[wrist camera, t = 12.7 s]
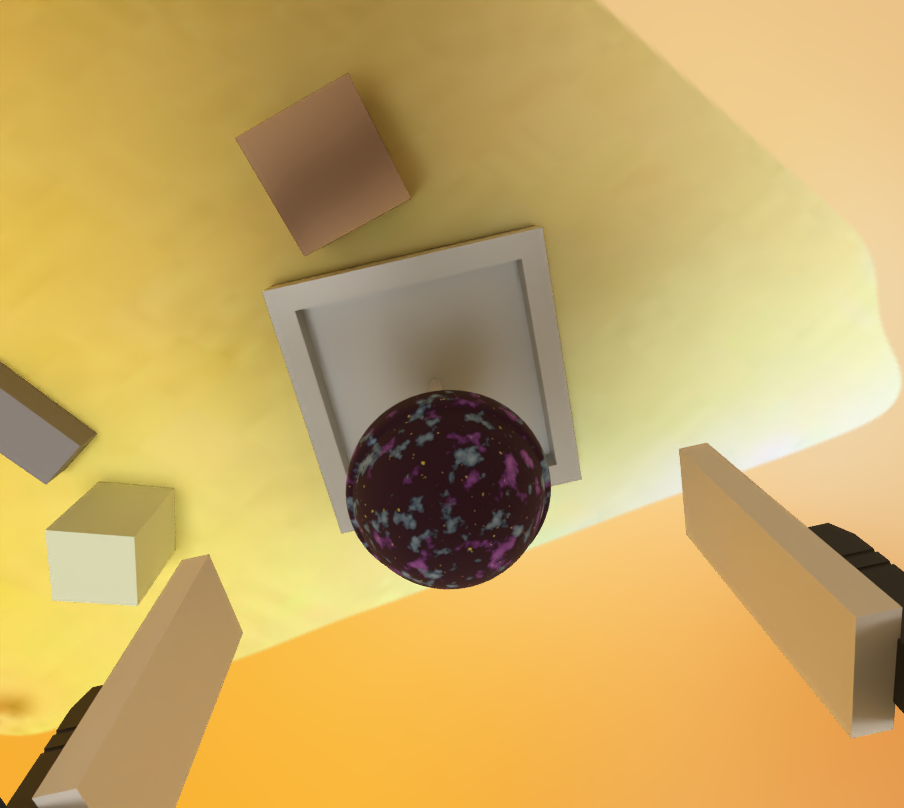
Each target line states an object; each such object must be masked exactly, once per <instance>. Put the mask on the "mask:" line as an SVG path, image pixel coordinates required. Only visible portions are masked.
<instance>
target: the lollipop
mask: <svg viewBox="0 0 904 808" xmlns="http://www.w3.org/2000/svg"><path fill="white" fill-rule="evenodd" d="M550 496H551V480H550V472H549V467H548V463H547V460H546V457H545V454H544V452H543V449H542V447H541V445H540V443H539V441H538V440H537V438H536V436H535V435H534V433H533V432H532V430H531V429H530V428H529V427H528V425H527V424H526V423H525V422H524V421H523V420H522V419H521V418H520V417H519V416H518V415H517V414H516V413H515V412H513V411H512V410H511V409H510V408H508V407H506V406H505V405H503V404H501V403H500V402H498V401H496V400H494V399H492V398H489V397H487V396H484V395H481V394H477V393H473V392H468V391H461V390H442V387H441V382H440V381H439V380H438V379H432V380H430V382H429V392H426V393H422V394H419V395H416V396H413V397H410V398H408V399H405V400H403V401H401V402H399V403H397V404H396V405H394V406H392V407H391V408H389V409H388V410H386V411H385V412H384V413H382V414H381V415H380V416H379V417H378V418H377V419H376V420H375V421H374V422H373V423H372V424H371V425H370V426H369V427H368V429H367V430H366V431H365V432H364V434H363V435H362V437H361V438H360V440H359V442H358V444H357V446H356V448H355V450H354V452H353V455H352V458H351V460H350V464H349V468H348V473H347V479H346V504H347V510H348V514H349V518H350V521H351V523H352V526H353V528H354V530H355V532H356V534H357V536H358V538H359V539H360V541H361V542H362V544H363V545H364V546H365V548H366V549H367V550H368V551H369V552H370V553H371V554H372V555H373V556H374V557H375V558H376V559H377V560H379V561H380V562H381V563H382V564H384V565H385V566H387V567H388V568H389V569H390V570H392V571H393V572H395V573H396V574H398V575H399V576H401V577H403V578H405V579H407V580H409V581H411V582H413V583H416V584H419V585H422V586H426V587H431V588H437V589H460V588H466V587H471V586H475V585H478V584H481V583H484V582H486V581H489V580H491V579H493V578H494V577H496V576H497V575H499V574H501V573H503V572H504V571H505V570H507V569H508V568H509V567H510V566H512V565H513V563H515V562H516V561H517V560H518V559H519V558H520V556H521V555H522V554H523V553H524V552H525V550H526V549H527V548H528V546H529V545H530V544H531V543H532V541H533V540H534V539H535V537H536V536H537V534H538V532H539V531H540V529H541V527H542V525H543V523H544V520H545V518H546V515H547V511H548V508H549V503H550Z"/></svg>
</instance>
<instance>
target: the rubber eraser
mask: <svg viewBox="0 0 904 808" xmlns="http://www.w3.org/2000/svg"><path fill="white" fill-rule="evenodd" d="M96 434H97V433H96V432H94V431H93V430H92V429H90V428H89V427H88V426H86V425H85V424H83V423H82V422H81V421H79V420H78V419H77V418H75V417H74V416H73V415H71V414H70V413H69V412H67V411H66V410H65V409H63V408H62V407H61V406H59V405H58V404H56V403H55V402H54V401H52V400H51V399H50V398H48V397H47V396H46V395H44V394H43V393H42V392H40V391H39V390H38V389H36V388H35V387H34V386H32V385H31V384H30V383H28V382H27V381H25V380H24V379H23V378H21V377H20V376H19V375H17V374H16V373H15V372H13V371H12V370H11V369H9V368H8V367H7V366H5V365H4V364H3V363H1V362H0V453H1V454H2V455H4V456H5V457H7V458H8V459H10V460H11V461H13V462H14V463H15V464H17V465H18V466H20V467H21V468H23V469H24V470H26V471H27V472H28V473H30V474H31V475H33V476H34V477H36V478H37V479H39V480H40V481H41V482H43V483H44V484H47V483H48V482H50V481H51V480H52V479H54V478H55V477H56V476H57V475H59V474H60V473H61V472H63V471H64V470H65V469H66V468H67V467H68V465H69V464H70V463H71V462H72V461H73V460H74V459H75V458H76V457H77V455H78V454H79V453H80V452H81V451H82V450H83V449H84V448H85V447H86V445H87V444H88V443H89V442H90V441H91V440H92V439H93V438H94V437H95V435H96Z"/></svg>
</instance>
